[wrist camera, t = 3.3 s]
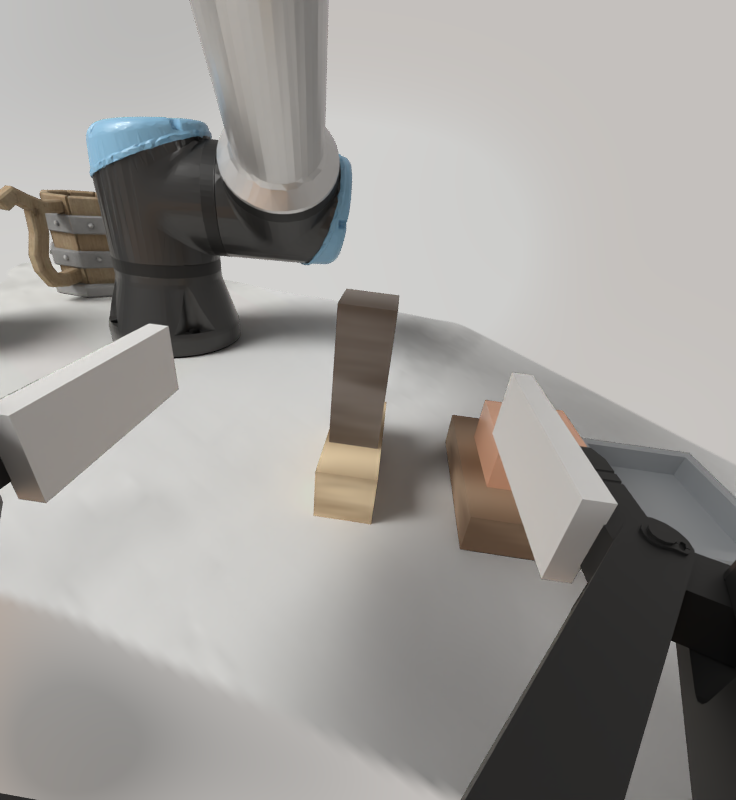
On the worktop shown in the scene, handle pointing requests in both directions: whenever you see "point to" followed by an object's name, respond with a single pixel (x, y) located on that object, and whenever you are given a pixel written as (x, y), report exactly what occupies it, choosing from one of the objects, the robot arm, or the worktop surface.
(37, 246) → the tankard
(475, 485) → the board
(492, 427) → the terracotta brick
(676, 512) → the tray
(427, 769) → the worktop surface
